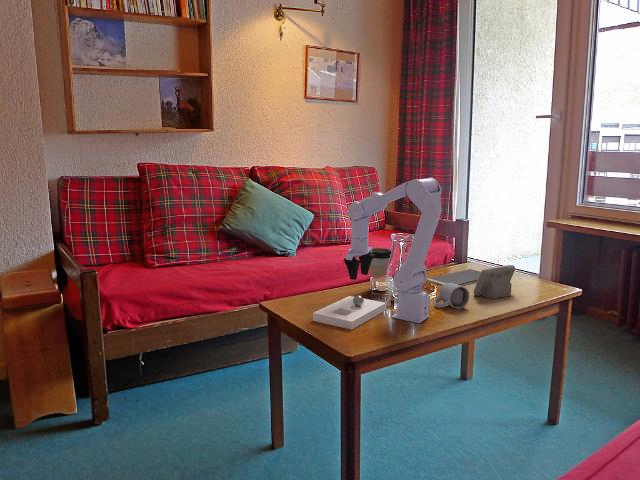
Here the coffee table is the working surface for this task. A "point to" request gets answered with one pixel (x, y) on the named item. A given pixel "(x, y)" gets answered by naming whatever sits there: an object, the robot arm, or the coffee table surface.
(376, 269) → the coffee cup
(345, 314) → the hole plate
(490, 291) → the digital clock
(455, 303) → the ceramic mug
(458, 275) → the grey flat slab
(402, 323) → the coffee table surface
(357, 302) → the steel ball
